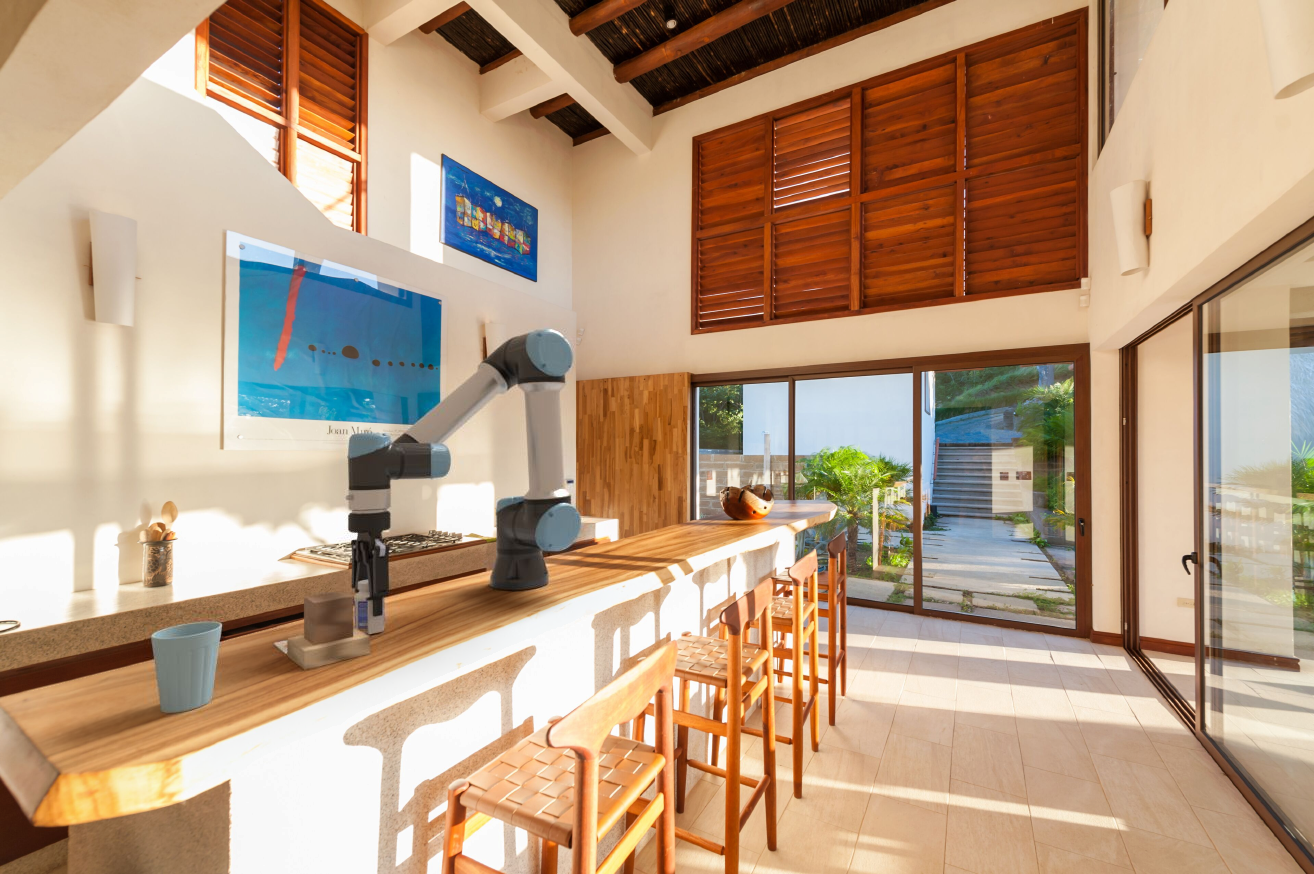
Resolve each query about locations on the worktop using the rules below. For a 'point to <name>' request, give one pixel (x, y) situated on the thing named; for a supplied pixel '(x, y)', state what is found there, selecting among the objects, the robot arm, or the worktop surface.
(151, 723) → the worktop surface
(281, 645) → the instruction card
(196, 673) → the cup
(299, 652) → the oak base slab
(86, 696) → the worktop surface
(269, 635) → the worktop surface
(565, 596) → the worktop surface
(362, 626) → the pill bottle
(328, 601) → the walnut block
